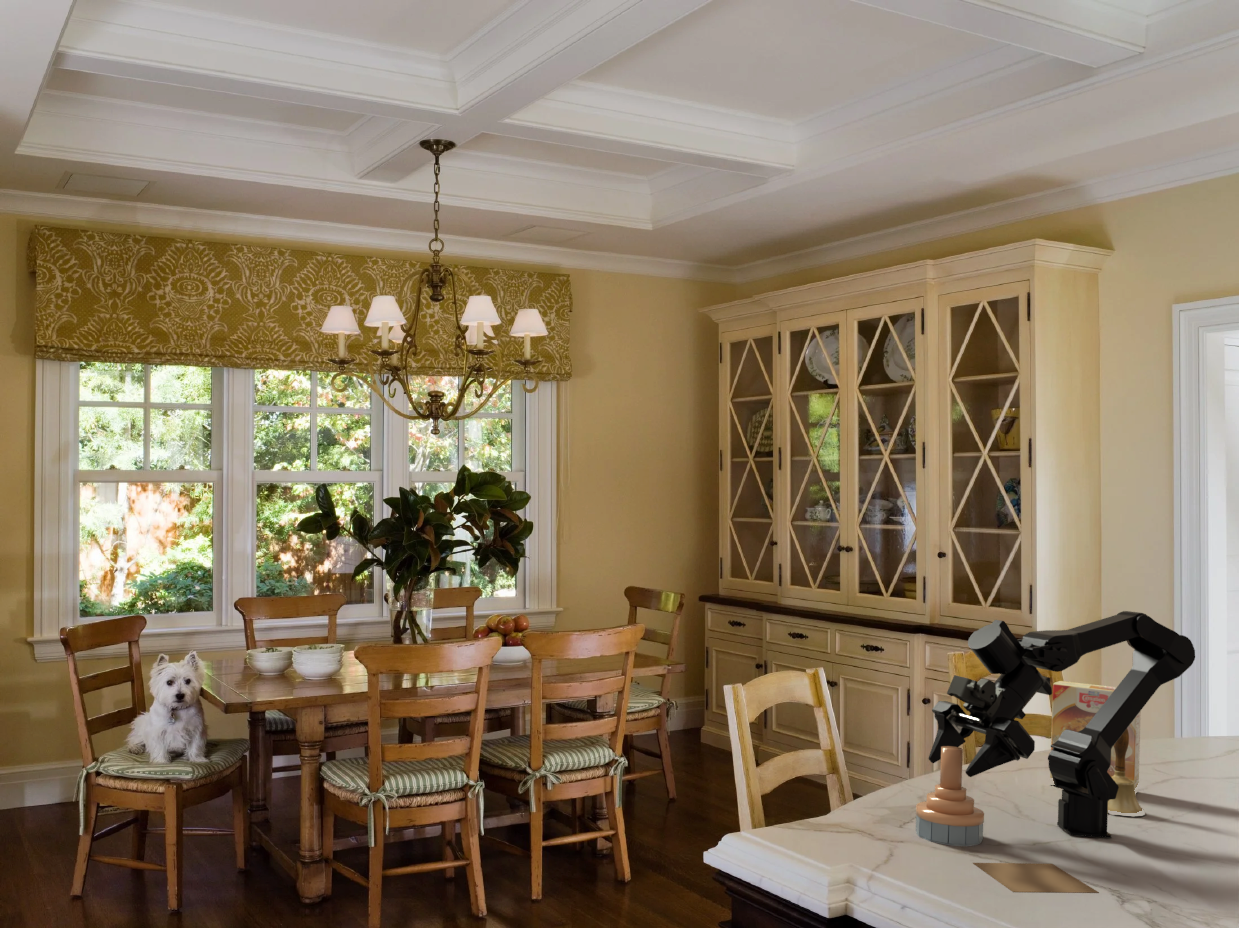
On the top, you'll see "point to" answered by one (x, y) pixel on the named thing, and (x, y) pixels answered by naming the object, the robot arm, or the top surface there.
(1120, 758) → the hand bell
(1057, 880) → the plate
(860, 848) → the top surface
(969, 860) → the top surface
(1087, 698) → the coffeecake box
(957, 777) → the lid
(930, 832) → the blue-grey faceted ring
